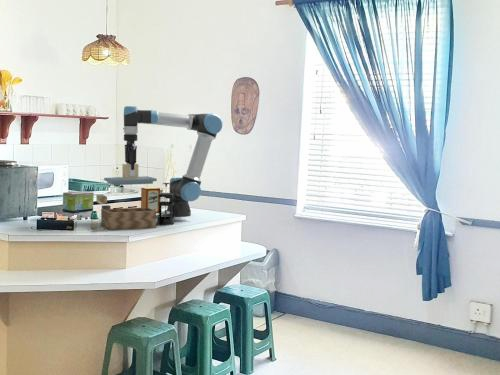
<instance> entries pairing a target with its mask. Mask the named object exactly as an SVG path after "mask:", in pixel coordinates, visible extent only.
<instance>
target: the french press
mask: <svg viewBox="0 0 500 375" xmlns="http://www.w3.org/2000/svg"><path fill="white" fill-rule="evenodd" d="M162 185H164V186H165V190H167V187H168V185H170V182H163V183H162ZM158 195H159V197H160V198H165V199H166V200H163V201H160V202H158V205H159V212H158V213H157V214H158V216H157V217H156V225H162V226H172V225H174V224H175V223H174V219H175V217H176V216H175V202H169V201H167V199H170V198H173V195H174V194H172V193H170V192H160V193H158ZM168 206H170V212H169V211H166V210H167V207H168ZM163 207H164V208H165V209H164V210H162V208H163ZM166 214H170V216H162V215H166Z"/></svg>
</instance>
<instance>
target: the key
mask: <svg viewBox="0 0 500 375" xmlns="http://www.w3.org/2000/svg"><path fill="white" fill-rule="evenodd" d="M95 201H96V203H97V204H99V205H107V204H108V196H106V195H104V194H96V200H95Z"/></svg>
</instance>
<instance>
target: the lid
mask: <svg viewBox="0 0 500 375" xmlns="http://www.w3.org/2000/svg"><path fill="white" fill-rule="evenodd" d="M121 168H122V176H118V177H117V176H115V177H114V176H113V177H112V176H111V177H104V178H103V180H104V181H105V182H107V184H110V185H113V186H127V185H150V184H151V185H152V184H154V182H157V181H158V180H157V178H156V177H151V176H146V175H145V176H139V164H138V163H135V176H130V164H127V163H122V167H121Z"/></svg>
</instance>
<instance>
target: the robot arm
mask: <svg viewBox="0 0 500 375" xmlns="http://www.w3.org/2000/svg"><path fill="white" fill-rule="evenodd" d="M138 124H143V125H145V124H147V125H154V126H155V125H156V126H166V127H173V128H174V127H176V128H186V129H187V130H190V131H195V132H196V134H197V135H198V136H197V138H196V142H195V146H194V148H193V152H192V155H191V157H190V161H189V164H188V167H187V170H186V173H185V174H184V175H182V177H172V178H170V179H169V183H170V184H169V193H172V194H174V195H173V198H170V199H169V200H168V202H175V217H191V214H192V213H191V212H192V210H191V207H190V204H189V202H195V201H196V200H199V198H200V196H201V195H202V188H201V184H202V180H201V176H202V173H203V169H204V167H205V164H206V161H207V157H208V155H209V152H210V148H211V145H212V142H213V140H215V139H216V137H217V135H218V133H220V132H221V131H222V128H223V120H222V118H221V117H220V116H219V115H217V114H216V113H213V112H212V113H197V114H196V113H195V114H194V113H188V114H179V113H169V112H160V111H157V110H153V109H151V110H149V109H145V110H144V109H143V110H140V109H138V106H135V105H133V106H132V105H130V106H129V105H128V106H127V105H126V106H124V108H123V128H122V129H123V141H125V142H126V143H125V144H124V161H125V164H130V176H135V164H137V148H138V147H137V145H136V142H137V141H138ZM166 211H169V212H170V206H166ZM165 215H166V216H168V217H170V214H165Z"/></svg>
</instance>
